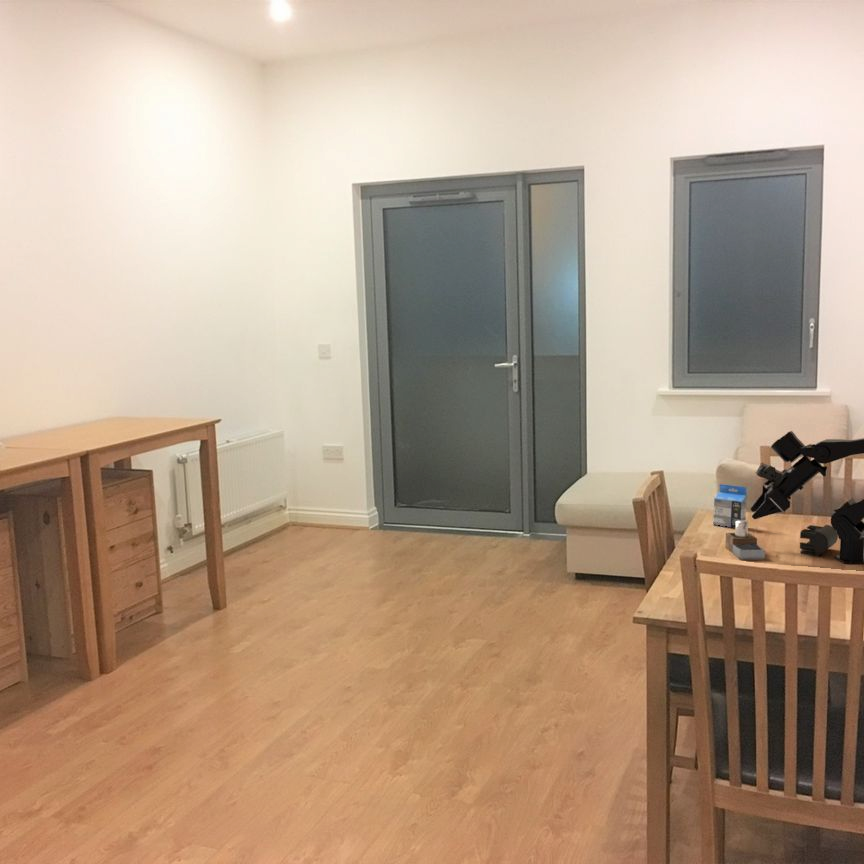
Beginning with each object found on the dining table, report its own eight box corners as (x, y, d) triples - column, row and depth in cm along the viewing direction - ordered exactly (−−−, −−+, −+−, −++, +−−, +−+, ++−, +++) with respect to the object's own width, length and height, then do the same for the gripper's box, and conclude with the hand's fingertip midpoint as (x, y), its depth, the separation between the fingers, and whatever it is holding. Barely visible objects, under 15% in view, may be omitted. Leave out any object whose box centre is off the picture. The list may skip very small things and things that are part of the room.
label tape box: (712, 525, 278) (713, 485, 276) (718, 522, 281) (719, 483, 279) (740, 529, 272) (741, 488, 271) (746, 527, 275) (747, 486, 273)
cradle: (764, 559, 239) (765, 550, 239) (740, 559, 240) (740, 550, 239) (756, 553, 246) (757, 544, 245) (732, 553, 246) (732, 544, 246)
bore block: (756, 553, 246) (757, 538, 245) (732, 553, 246) (732, 538, 246) (748, 546, 252) (749, 532, 252) (725, 547, 252) (725, 532, 252)
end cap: (826, 558, 240) (828, 533, 239) (799, 554, 245) (800, 529, 244) (837, 550, 248) (838, 525, 247) (810, 546, 252) (811, 522, 252)
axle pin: (748, 551, 248) (749, 522, 246) (736, 551, 248) (737, 522, 247) (744, 548, 251) (745, 519, 250) (733, 548, 251) (734, 519, 250)
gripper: (773, 448, 252) (730, 486, 257) (778, 459, 235) (731, 499, 239) (803, 477, 251) (758, 515, 256) (810, 490, 233) (762, 530, 238)
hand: (752, 514), depth 247 cm, fingers open, 9 cm apart
